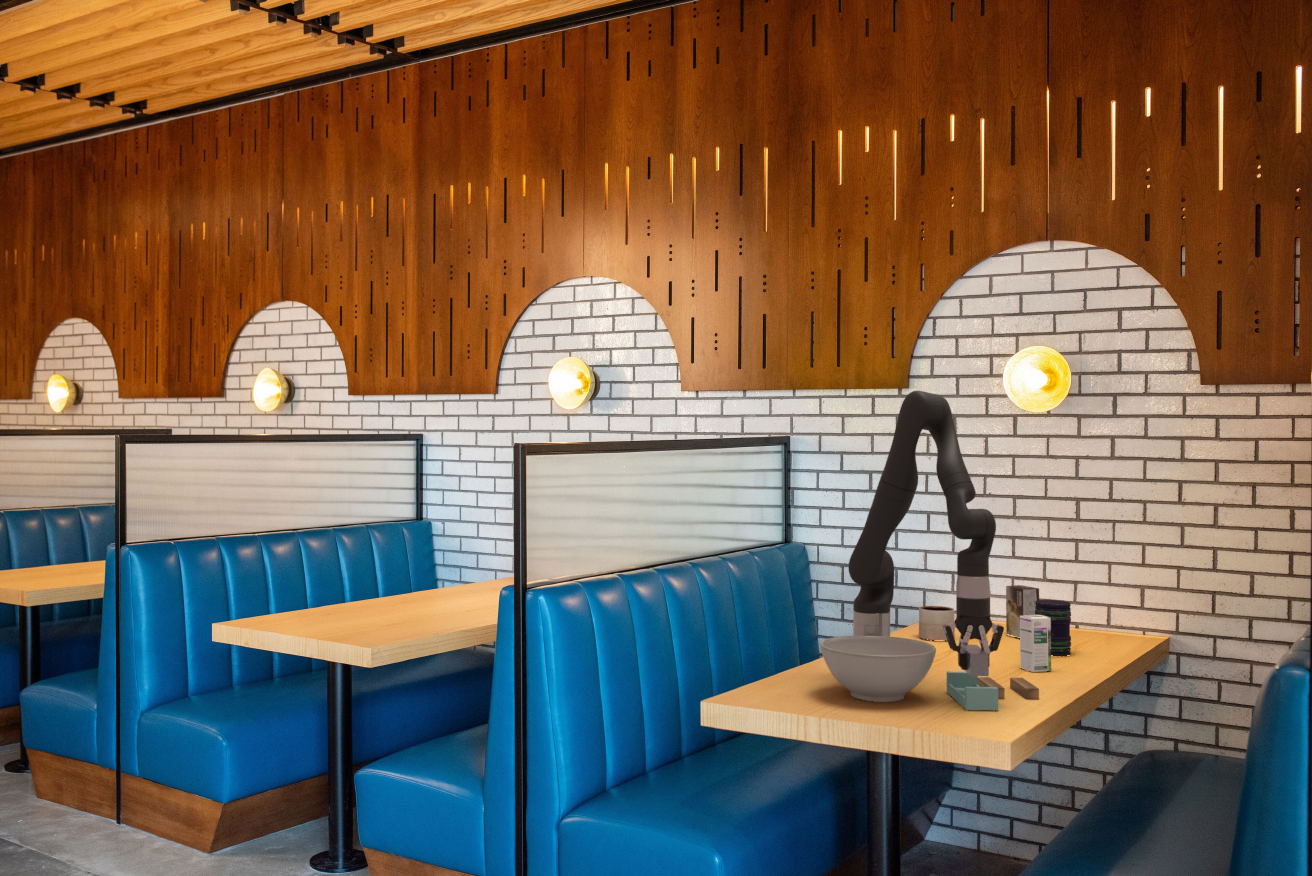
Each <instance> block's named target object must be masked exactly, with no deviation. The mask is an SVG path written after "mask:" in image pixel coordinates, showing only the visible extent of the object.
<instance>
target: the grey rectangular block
mask: <svg viewBox="0 0 1312 876" xmlns="http://www.w3.org/2000/svg"><path fill="white" fill-rule="evenodd" d="M965 654H966V670H964V672H967V673H968V674H969V675H970V676H978V677H989V676H990V674H989V673H990V672H989V671H990V670H989V669H990V665H989V663H990V662H989V661H990V655H989V654H988V653H987V652H985V651H984V650H983V649H982V648H981V646H979V645H978V644H968V645H967V647H966V651H965Z"/></svg>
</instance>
